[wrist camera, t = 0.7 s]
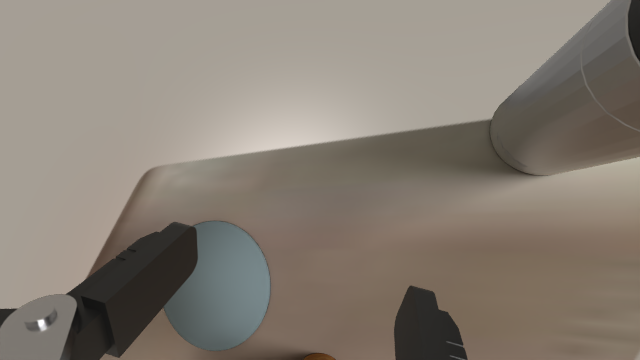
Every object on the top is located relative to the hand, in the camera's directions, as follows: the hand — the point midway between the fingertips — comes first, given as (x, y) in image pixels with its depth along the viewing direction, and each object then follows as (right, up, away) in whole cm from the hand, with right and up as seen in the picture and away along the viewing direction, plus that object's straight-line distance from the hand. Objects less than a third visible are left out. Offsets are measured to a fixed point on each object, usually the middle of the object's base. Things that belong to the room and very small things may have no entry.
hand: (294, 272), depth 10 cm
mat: (-13, -10, +25) cm, 30 cm away
